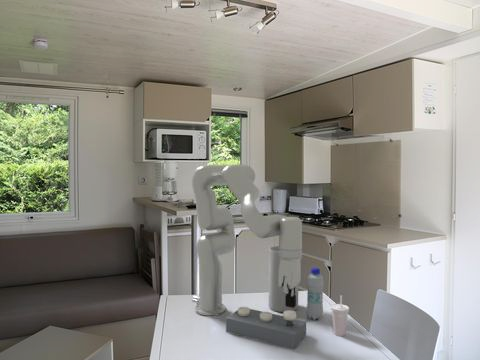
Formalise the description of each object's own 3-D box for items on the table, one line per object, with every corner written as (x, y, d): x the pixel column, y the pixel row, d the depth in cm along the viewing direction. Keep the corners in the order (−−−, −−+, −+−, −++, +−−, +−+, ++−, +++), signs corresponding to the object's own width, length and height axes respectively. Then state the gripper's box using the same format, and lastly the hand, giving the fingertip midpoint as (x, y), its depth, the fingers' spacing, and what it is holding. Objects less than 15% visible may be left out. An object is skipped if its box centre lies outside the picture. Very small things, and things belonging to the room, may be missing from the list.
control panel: (226, 331, 134) (226, 318, 133) (242, 319, 144) (242, 307, 144) (294, 349, 121) (294, 334, 121) (306, 335, 132) (306, 321, 131)
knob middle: (257, 332, 132) (257, 315, 131) (262, 327, 136) (263, 310, 135) (268, 335, 130) (269, 317, 129) (273, 330, 133) (274, 313, 133)
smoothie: (338, 339, 128) (339, 299, 128) (326, 331, 134) (327, 293, 134) (352, 335, 131) (353, 296, 131) (340, 328, 137) (340, 291, 137)
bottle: (323, 322, 143) (324, 270, 142) (305, 320, 144) (306, 269, 143) (323, 315, 149) (324, 266, 148) (306, 313, 150) (307, 265, 150)
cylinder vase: (264, 310, 154) (265, 250, 153) (273, 300, 165) (274, 244, 164) (293, 315, 149) (294, 253, 148) (301, 304, 161) (302, 247, 160)
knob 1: (235, 327, 136) (235, 310, 136) (241, 322, 140) (241, 306, 140) (246, 329, 134) (246, 312, 134) (251, 325, 138) (251, 308, 138)
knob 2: (281, 331, 127) (281, 313, 127) (286, 326, 131) (286, 309, 131) (293, 334, 125) (293, 316, 125) (297, 329, 129) (298, 311, 129)
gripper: (288, 248, 135) (288, 297, 136) (271, 256, 122) (271, 311, 123) (308, 250, 132) (308, 301, 132) (293, 259, 119) (293, 316, 119)
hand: (290, 306), depth 128 cm, fingers closed
